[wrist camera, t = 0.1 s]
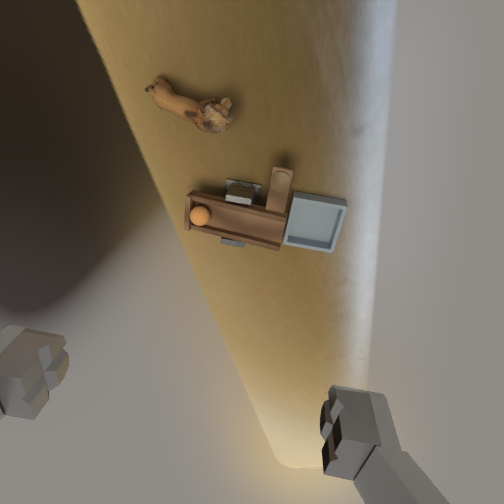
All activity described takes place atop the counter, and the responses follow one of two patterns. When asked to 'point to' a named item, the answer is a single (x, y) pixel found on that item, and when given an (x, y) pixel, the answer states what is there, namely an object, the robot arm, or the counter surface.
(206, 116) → the lion figurine
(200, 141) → the counter surface
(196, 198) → the lever
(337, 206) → the tray
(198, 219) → the ball
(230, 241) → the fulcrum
